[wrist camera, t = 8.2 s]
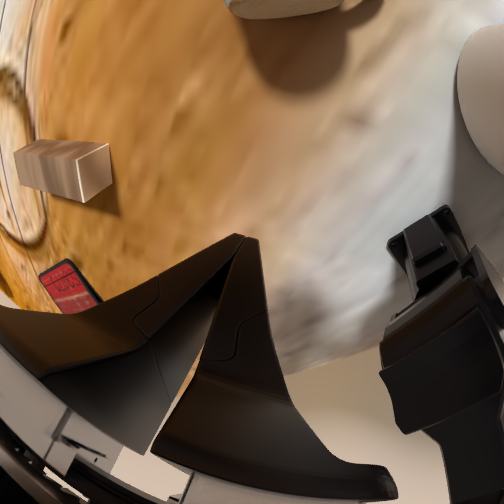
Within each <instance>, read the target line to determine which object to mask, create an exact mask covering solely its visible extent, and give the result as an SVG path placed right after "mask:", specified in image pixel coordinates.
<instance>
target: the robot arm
mask: <svg viewBox="0 0 504 504" xmlns="http://www.w3.org/2000/svg"><path fill="white" fill-rule="evenodd" d="M445 210H447V212H446V213H444V211H445ZM392 243H396V244H395V245H391V244H392ZM388 247H389V249H390V250H391V252H392V253H393V255H394V256H395V258H396V259H397V261H398V262H399V264H400V265H401V267H402V268H403V270H404V271H405V273H406V274H407V276H408V279H409V283H410V288H411V293H412V298H413V303H411V304H410V305H409V306H407V307H406V308H405V309H403V310H402V311H401V312H400V313H396V314H395V315H393V316H392V317H391V320H390V323H389V324H388V326H387V327H386V328H385V333H384V337H383V340H382V341H381V342H380V345H379V349H380V358H381V365H382V369H383V370H381V371H380V372H379V375H380V377H381V378H382V380H383V382H384V383H385V385H386V387H387V389H388V392H389V394H390V397H391V400H392V405H393V410H394V416H395V422H396V424H397V426H398V427H399V428H400V430H401V431H402V433H404V434H406V435H407V434H411V433H413V432H416V431H419V430H421V431H422V432H424V433H425V434H426V435H427V436H429V437H430V438H431V439H432V440H434V441H435V442H436V443H437V444H438V445H439V447H440V449H441V453H442V457H443V462H444V467H445V473H446V478H447V484H448V491H449V499H450V504H504V282H503V280H502V278H501V277H500V275H499V274H498V272H497V271H496V270H495V268H494V267H493V266H492V264H491V263H490V262H489V261H488V259H487V258H486V257H485V255H484V254H483V253H482V252H481V251H480V249H479V248H478V247H477V246H476V245H475V246H474V247H473V248H472V249H471V252H470V253H469V250H468V248H467V245H466V242H465V240H464V238H463V235H462V233H461V231H460V228H459V226H458V224H457V221H456V219H455V217H454V215H453V213H452V211H451V209H450V207H449V206H447V205H443V206H442V207H440V208H439V209H437V210H435V211H434V212H432V213H431V214H429V215H426V216H425V217H423V218H421V219H420V220H418V221H417V222H415V223H413V224H412V225H410V226H409V227H407V228H405V229H404V231H402V232H401V233H399V234H397V235H396V236H394V237H392V238H391V239H389V241H388ZM204 343H205V344H204ZM203 345H204V347H203V350H202V353H201V357H200V361H199V363H198V366H197V369H196V372H195V374H194V376H193V378H192V380H191V382H190V383H189V385H188V387H187V388H186V390H185V392H184V393H183V395H182V396H181V398H180V400H179V401H178V403H177V405H176V407H175V408H174V409H173V411H172V413H171V415H170V416H169V418H168V419H167V421H166V422H165V424H164V425H163V427H162V429H161V430H160V432H159V434H158V435H157V437H156V439H155V440H154V442H153V445H152V447H151V450H150V452H151V453H152V454H154V455H155V456H157V457H159V458H160V459H162V460H163V461H165V462H167V463H168V464H170V465H172V466H174V467H175V468H177V469H179V470H181V471H182V472H184V473H186V474H188V475H190V477H189V479H188V482H187V484H186V487H185V489H184V491H183V494H177V495H172V496H170V497H169V498H168V500H167V502H166V501H163V500H160V499H158V498H156V497H154V496H151V495H149V494H147V493H145V492H143V491H141V490H139V489H137V488H135V487H133V486H131V485H129V484H127V483H125V482H123V481H121V480H120V479H118V478H116V477H114V476H112V475H111V474H110V472H111V470H112V468H113V466H114V464H115V462H116V460H117V458H118V456H119V454H120V452H121V450H122V448H123V446H125V447H127V448H129V449H131V450H133V451H135V452H136V453H138V454H140V455H144V454H145V452H146V451H147V449H148V447H149V445H150V443H151V441H152V439H153V438H154V436H155V434H156V432H157V430H158V428H159V426H160V425H161V423H162V421H163V419H164V417H165V415H166V413H167V412H168V410H169V408H170V406H171V403H172V402H173V400H174V398H175V397H176V395H177V393H178V391H179V389H180V387H181V385H182V384H183V382H184V380H185V378H186V376H187V374H188V372H189V371H190V369H191V367H192V365H193V363H194V361H195V359H196V358H197V356H198V354H199V352H200V350H201V348H202V346H203ZM45 466H46V467H47V468H48V469H49V470H51V471H52V472H53V473H54V474H56V475H57V476H58V477H59V478H61V479H62V480H63V481H65V482H66V483H67V484H69V485H70V486H72V487H73V488H74V489H76V490H77V491H79V492H80V493H82V494H83V496H84V497H86V498H89V500H88V502H86V501H85V500H83V499H82V498H80V497H79V496H77V495H76V494H75V493H73V492H71V491H70V490H69V489H68V488H62V486H61V485H60V484H59V483H57V482H56V481H54V480H53V479H51V478H50V477H48V476H46V473H45V472H44V471H43V470H44V467H45ZM395 499H398V491H397V487H396V484H395V482H394V481H393V478H392V476H391V475H390V473H389V471H388V470H387V468H386V467H384V466H380V465H371V464H355V463H349V462H345V461H343V460H341V459H339V458H337V457H336V456H334V455H333V454H332V453H331V452H329V450H328V449H327V448H326V447H325V446H324V444H323V443H322V442H321V441H320V439H319V438H318V437H317V436H316V435H315V433H314V432H313V430H312V429H311V428H310V427H309V425H308V424H307V423H306V421H305V420H304V419H303V417H302V416H301V415H300V413H299V412H298V411H297V409H296V408H295V406H294V405H293V402H292V401H291V398H290V396H289V393H288V390H287V387H286V384H285V381H284V377H283V374H282V370H281V367H280V364H279V360H278V357H277V354H276V350H275V346H274V342H273V338H272V334H271V328H270V322H269V314H268V307H267V299H266V291H265V284H264V276H263V268H262V260H261V253H260V245H259V240H258V239H255V238H251V237H246V236H244V235H241V234H237V233H233V234H231V235H229V236H228V237H226V238H224V239H222V240H220V241H218V242H216V243H215V244H213V245H211V246H209V247H207V248H205V249H204V250H202V251H200V252H198V253H196V254H194V255H193V256H191V257H189V258H187V259H185V260H184V261H182V262H180V263H178V264H176V265H175V266H173V267H171V268H169V269H167V270H166V271H164V272H162V273H160V274H159V275H158V276H155V277H153V278H151V279H149V280H148V281H146V282H144V283H142V284H140V285H138V286H136V287H135V288H132V289H130V290H128V291H126V292H124V293H122V294H120V295H118V296H115V297H113V298H111V299H109V300H106V301H104V302H102V303H100V304H98V305H95V306H93V307H91V308H89V309H86V310H84V311H81V312H78V313H73V314H59V313H48V312H39V311H30V310H21V309H13V308H8V307H5V306H2V305H0V504H366V502H378V501H388V500H395Z"/></svg>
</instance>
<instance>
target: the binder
mask: <svg viewBox="0 0 504 504" xmlns="http://www.w3.org/2000/svg"><path fill="white" fill-rule="evenodd" d="M39 280H40V282H41V283H42V285H43V286H44V287H45V289H46V290H47V292H48V293H49V295H50V296H51V298H52V299H53V301H54V302H55V303H56V305H57V306H58V307H59V309H60V310H61V311H62V313H63V314H73V313H78V312H81V311H84V310H86V309H89V308H91V307H93V306H95V305H98V304H100V303H102V302H104V301H103V300H102V298H101V297H100V296H99V295H98V294H97V292H96V291H95V290H94V289H93V287H92V286H91V285H90V284H89V282H88V281H87V280H86V279H85V277H84V276H83V275H82V274H81V272H80V271H79V270H78V268H77V267H76V266H75V264H74V263H73V262H72V261H71V260H69V259H66V258H65V259H64V260H62V261H61V262H59V263H57V264H56V265H54V266H53V267H51V268H49V269H47V270H46V271H44V272H43V273H41V274H40V275H39Z"/></svg>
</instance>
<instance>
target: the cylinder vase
mask: <svg viewBox="0 0 504 504" xmlns="http://www.w3.org/2000/svg"><path fill="white" fill-rule="evenodd" d="M457 90H458V98H459V104H460V108H461V112H462V116H463V119H464V122H465V125H466V127H467V130H468V132H469V134H470V136H471V138H472V140H473V142H474V144H475V146H476V147H477V149H478V150H479V152H480V153H481V154H482V156H483V157H484V158H485V159H486V160H487V162H488V163H489V164H491V165H492V166H493V167H494V168H495V169H496V170H498V171H499V172H500V173H501V174H502V175H504V24H499V25H493V26H488V27H484V28H481V29H479V30H478V31H476V32H475V33H474V34H472V35H471V36H470V38H469V39H468V40H467V42H466V43H465V45H464V47H463V49H462V52H461V55H460V58H459V63H458V70H457Z"/></svg>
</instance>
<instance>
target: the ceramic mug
mask: <svg viewBox="0 0 504 504" xmlns="http://www.w3.org/2000/svg"><path fill="white" fill-rule="evenodd" d="M343 1H344V0H224V2H225V4H226V6H227V7H228V9H229V10H230V11H231V12H232V13H233V14H235V15H236V16H239V17H241V18H246V19H273V18H283V17H291V16H299V15H305V14H311V13H316V12H321V11H325V10H328V9H332V8H334V7H336V6H338V5H339V4H341V3H342V2H343Z"/></svg>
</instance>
